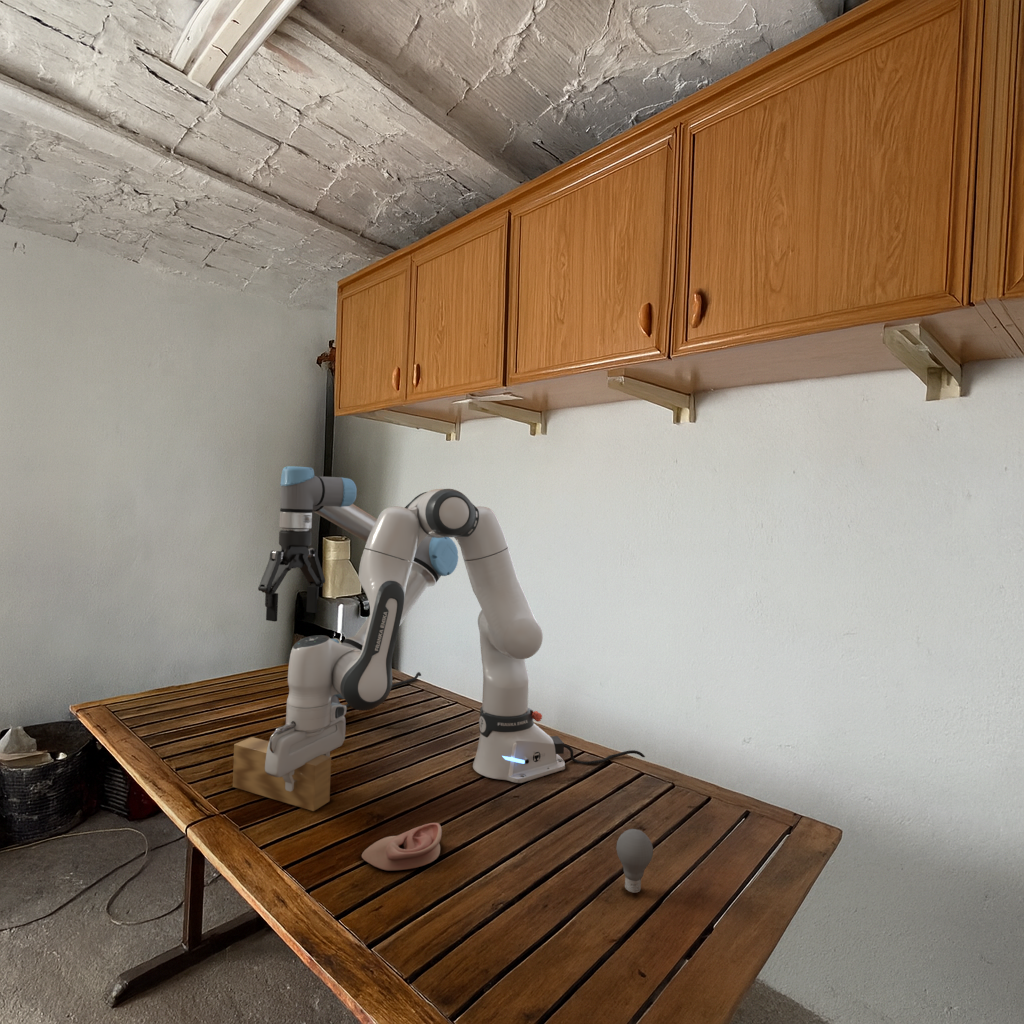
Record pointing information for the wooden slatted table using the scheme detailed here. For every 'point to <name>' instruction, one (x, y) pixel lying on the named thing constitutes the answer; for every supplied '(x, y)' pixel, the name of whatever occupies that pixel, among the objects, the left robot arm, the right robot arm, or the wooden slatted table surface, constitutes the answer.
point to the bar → (256, 780)
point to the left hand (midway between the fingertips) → (292, 616)
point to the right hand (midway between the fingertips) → (305, 781)
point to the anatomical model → (406, 849)
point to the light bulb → (634, 857)
